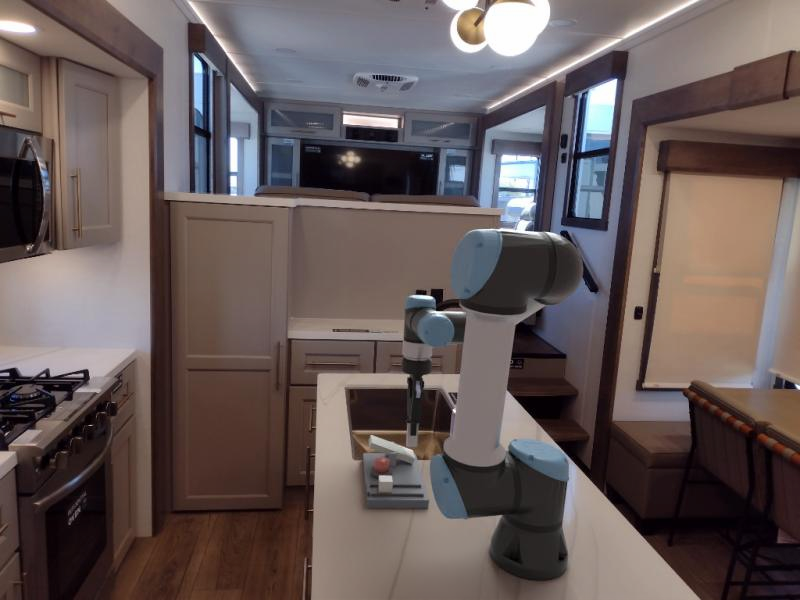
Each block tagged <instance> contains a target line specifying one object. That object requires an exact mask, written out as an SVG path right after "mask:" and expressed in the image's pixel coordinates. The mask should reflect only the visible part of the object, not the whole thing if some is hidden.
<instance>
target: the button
mask: <svg viewBox="0 0 800 600" xmlns="http://www.w3.org/2000/svg"><path fill="white" fill-rule="evenodd" d="M389 463H390V460H389V459H387V458H384V457H379V458H376V459H375V466H374V470H375V471H376V472H378V473H387V472H388V471H389Z"/></svg>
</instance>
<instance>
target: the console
mask: <svg viewBox="0 0 800 600" xmlns="http://www.w3.org/2000/svg"><path fill="white" fill-rule="evenodd" d="M391 442H392V443H395V441H391ZM414 456H415V460H414V462H413V464H411V463H408V462H405V461H403V460H400V459H397V452H389V455H386V454H383V453H381V452H373V453H372V452H363V454H362V466H363V467H362V468H363V476H364V477H363V478H364V490H365V504H366V505H365V506H366V509H429V506H430V505H429V504H430V500H429V496H428V491H427V489H426V485H425V481H424V478H423V475H422V474H423V473H422V470H421V468H420V464H419V461H418V457H417V454H416V453H414ZM379 457H384V458H387V459H389V460H390V463H389V471H388V472H387V473H378V472H376V471H375V470H374V466H375V459H376V458H379ZM379 475H385V476H392V480H393V487H392V493H379V490H378V482H379Z"/></svg>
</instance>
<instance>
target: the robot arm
mask: <svg viewBox="0 0 800 600" xmlns="http://www.w3.org/2000/svg"><path fill="white" fill-rule="evenodd" d="M454 249H455V250H454V252H453V256H452V260H451V264H450V271H449V274H450V275H449V277H450V279H451V280H450V288H451V291H452V293H453V294H454V296H456V297H457V298H458V299H459V307H460V308H461V309H462V311H437V310H436V309H437V305H436V304H437V303H436V302H437V301H436V299H435V297H433V296H430V295H423V294H411V295H409V296H407V297H406V299H405V304H404V305H405V307H404V308H403V309H404V317H403V318H404V322H403V339H402V352H401V354H402V356H403V357H402V359H401V371H402V372H403V373H404V374H406V375H409V376H407V378H406V384H407V392H406V393H407V398H406V399H407V406H406V414H407V417H406V418H407V419H406V420H405V423H406V438H405V439H406V442H405V446H406V448H407V447H408V448H418V439H419V426H420V424H421V416H422V408H423V399H424V395H425V391H424V388H425V380H424V378H423V376H427V375H429V374H431V373H432V365H433V359H432V358H431V357H432V356H433V349H435V348H437V349H439V348H444V347H446V346H448V345H449V344H450V345H452V344H455V345H456V344H457V345H459V344H463V345H462V353H461V363H460V368H459V369H460V371H459V379H458V387H457V389H458V390H457V396H456V406H455V408H456V413H455V422H454V430H453V435H452V436H450V435H449V437H447V438H446V439H445V440H444V442H443V447H442V454H441V453H437V454H435V455H433V456H432V457H431V459H430V463H429V477H430V483H431V489H432V493H433V498H434V502H435V503H436V506H437V508H438V510H439V511H440V513H441V515H442V516H444V518H446V519H450V520H459V519H462V520H468V519H474V518H484V517H485V518H487V517H496V516H501V517H500V519H499V521H498V523H497V525H496V527H495V529H494V531H493V533H492V536H491V537H490V545H489V553H490V557H491V558H492V560H493V562H495V564H496V565H498V566H499V567H500V568H501V569H503V570H504V571H505V572H507V573H509V574H511V575H513V576H516V577H519V578H522V579H527V580H531V581H546V580H548V581H549V580H553V579H555V578H558V577H560V576H561V575H563V574H564V573H565V572H566V571H567V568H568V561H569V550H568V546H567V541H566V537H565V532H564V529H563V527H564V526H563V523H564V514H565V508H566V497H567V490H568V482H569V481H570V462H569V459H568V457H567V456H566V454H565V453H564V452H563V451H561V450H560V449H559V448H557V447H555V446H553V445H551V444H549V443H547V442H544V441H541V440H536V439H532V438H525V437H524V438H523V437H521V438H520V437H519V438H514V439H512V440H511V441H510V442H509V444H508V446H507V450H506V449H505V447H504V445H502V443H501V442H500V441H501V433H502V426H503V419H504V411H505V404H506V398H507V389H508V381H509V373H510V369H511V359H512V354H513V353H512V352H513V346H514V345H513V344H514V338H515V331H516V325H518V324H519V323H521V322H523V321H524V320H525V319H527V318H529V317H530V316H532V315H533V314H536V313H537V312H538V311H540V310H542V309H543V308H544V307H552V306H553V307H554V306H557V305H559V304H561V303H562V302H564V301H565V300H567V299H568V298H570V297H571V296H572V295H573V294H574V293H575V292H576V291H577V290H578V288H579V286H580V284H581V282H582V280H583V276H584V275H583V274H584V265H583V264H584V263H583V259H582V257H581V253H580V252H579V251H578V249H577V248H576V246H575V245H574V244H573V243H572V242H571V241H570V240H569V239H567V238H566V237H564V236H562V235H559V234H557V233H555V232H551V231H549V232H548V231H529V230H528V231H527V230H513V229H498V228H490V229H489V228H488V229H485V228H483V229H473V230H469V231H468V232H467V233H465V234H464V235H463V236H462V238H461V239H460V240H459V241H458V243H457V246H456V247H455V248H454Z"/></svg>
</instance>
